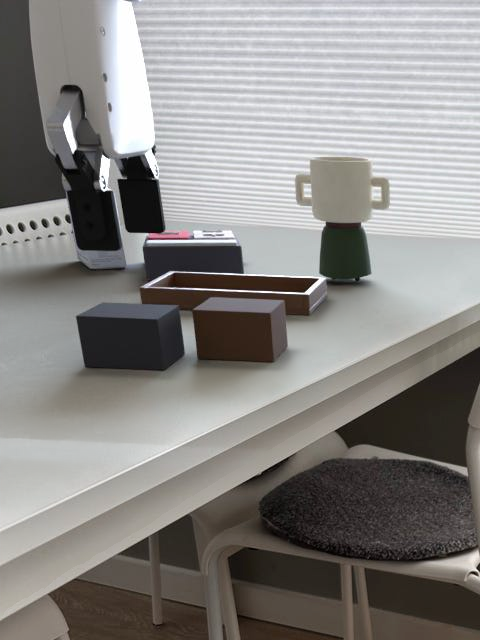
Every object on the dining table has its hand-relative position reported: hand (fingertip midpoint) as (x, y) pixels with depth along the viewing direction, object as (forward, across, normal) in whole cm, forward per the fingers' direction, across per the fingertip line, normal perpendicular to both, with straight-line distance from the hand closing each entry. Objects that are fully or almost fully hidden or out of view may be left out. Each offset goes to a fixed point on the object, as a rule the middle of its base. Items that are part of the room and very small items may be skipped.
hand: (124, 240), depth 74 cm
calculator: (+9, -43, -9) cm, 45 cm away
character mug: (+10, -40, +10) cm, 43 cm away
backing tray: (+9, -25, +1) cm, 27 cm away
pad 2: (+9, -4, +7) cm, 13 cm away
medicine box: (+9, -44, -21) cm, 50 cm away
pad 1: (+9, 0, -1) cm, 9 cm away
